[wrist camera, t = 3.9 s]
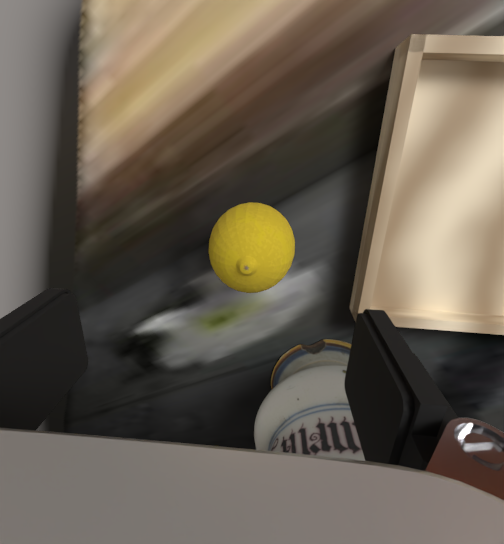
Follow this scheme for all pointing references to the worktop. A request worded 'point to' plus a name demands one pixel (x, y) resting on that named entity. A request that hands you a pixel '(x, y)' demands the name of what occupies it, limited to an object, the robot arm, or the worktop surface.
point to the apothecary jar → (309, 404)
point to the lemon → (251, 247)
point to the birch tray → (438, 190)
